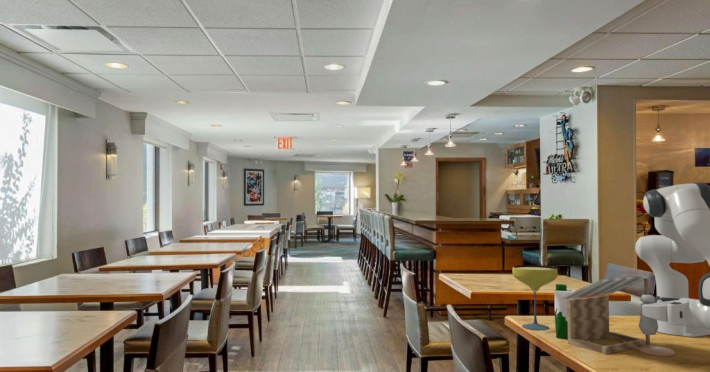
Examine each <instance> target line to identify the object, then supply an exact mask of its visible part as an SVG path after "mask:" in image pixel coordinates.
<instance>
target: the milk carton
mask: <svg viewBox="0 0 710 372" xmlns="http://www.w3.org/2000/svg"><path fill="white" fill-rule="evenodd" d="M576 290H577V289H576ZM576 290H575V289H571V288H570V289H569V288H567V284H561V283H558V284H557V283H555V290H554V327H555V328H554V329H555V338H556V339H563V340H568V315H567V300H570V299H579V298H581V297H577V298H568V299H563V297H564V296H566V295H568V294H570V293H572V292H574V291H576Z"/></svg>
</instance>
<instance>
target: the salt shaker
mask: <svg viewBox="0 0 710 372" xmlns="http://www.w3.org/2000/svg"><path fill="white" fill-rule="evenodd" d="M640 302H641V303H646V304H652V303H654V302H655V303H656V296H654V295H651V294H649V295H644V294H642V295H640ZM638 328H639V330H640V332H641V333H642V334H644V335H645V334H647V335H650V336H655V335H656V334H657V333H658V331H657V330H658V323H657V320H656V319H652V318H648V317H645V316H644V315H643V313H642V310H641V313H640V318H639V322H638Z"/></svg>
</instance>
